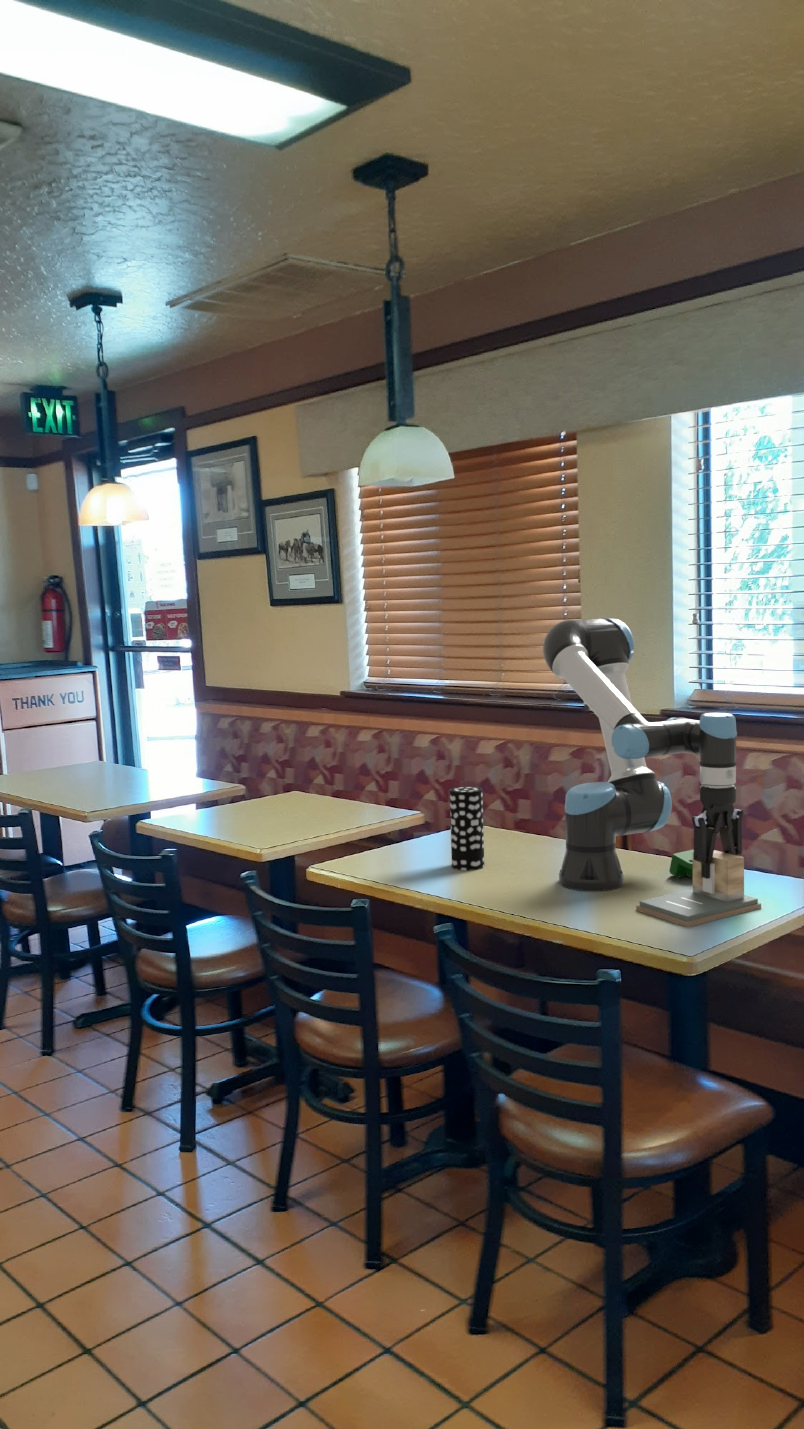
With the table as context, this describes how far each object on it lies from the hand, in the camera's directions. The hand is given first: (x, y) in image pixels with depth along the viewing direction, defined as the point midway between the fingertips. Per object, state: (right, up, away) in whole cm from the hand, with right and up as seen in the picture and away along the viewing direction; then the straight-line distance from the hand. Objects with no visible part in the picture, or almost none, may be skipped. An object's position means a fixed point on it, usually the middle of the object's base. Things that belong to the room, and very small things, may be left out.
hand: (717, 889), depth 234 cm
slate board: (-5, -4, -3) cm, 7 cm away
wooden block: (0, -1, 0) cm, 1 cm away
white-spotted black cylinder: (-52, -1, +40) cm, 66 cm away
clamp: (+2, -1, +24) cm, 24 cm away
